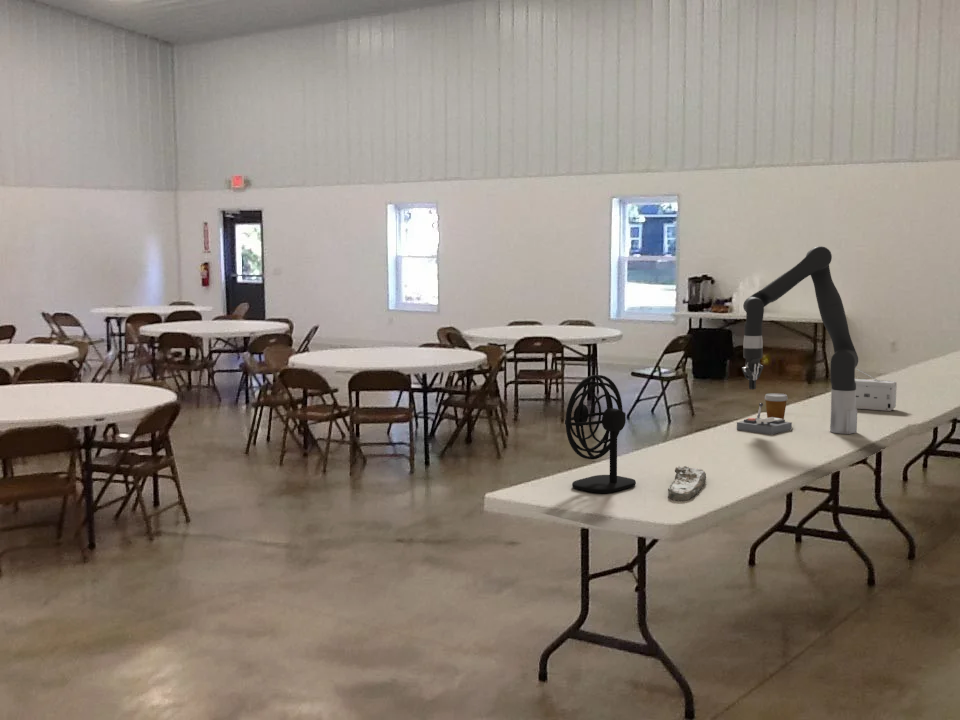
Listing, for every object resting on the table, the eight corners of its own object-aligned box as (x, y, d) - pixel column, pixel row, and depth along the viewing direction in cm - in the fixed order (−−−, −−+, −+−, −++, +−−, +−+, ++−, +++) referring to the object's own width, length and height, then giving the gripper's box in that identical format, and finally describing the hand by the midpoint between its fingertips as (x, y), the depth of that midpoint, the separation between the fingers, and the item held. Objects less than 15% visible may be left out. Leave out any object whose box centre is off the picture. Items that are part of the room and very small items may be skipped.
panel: (791, 429, 414) (791, 419, 414) (771, 434, 404) (771, 423, 404) (756, 424, 426) (757, 414, 426) (736, 429, 416) (736, 418, 415)
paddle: (782, 421, 415) (782, 418, 415) (777, 422, 412) (777, 419, 412) (773, 420, 418) (773, 417, 418) (768, 421, 415) (768, 418, 415)
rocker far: (774, 420, 409) (773, 416, 409) (769, 421, 406) (769, 418, 406) (761, 422, 413) (761, 418, 413) (756, 423, 411) (756, 419, 411)
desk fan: (607, 474, 337) (607, 369, 333) (650, 483, 324) (651, 374, 320) (552, 488, 318) (552, 377, 314) (596, 498, 306) (596, 382, 302)
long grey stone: (660, 504, 304) (694, 509, 300) (661, 487, 303) (695, 492, 300) (679, 473, 336) (710, 477, 333) (680, 458, 335) (711, 461, 332)
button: (756, 421, 416) (756, 418, 416) (752, 422, 414) (752, 419, 413) (750, 420, 418) (750, 417, 418) (746, 421, 416) (746, 418, 416)
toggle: (760, 419, 423) (764, 403, 423) (758, 418, 422) (762, 402, 422) (757, 418, 424) (760, 403, 425) (755, 418, 423) (758, 402, 424)
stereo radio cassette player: (896, 409, 462) (897, 365, 460) (892, 412, 455) (894, 367, 453) (848, 406, 473) (849, 363, 471) (844, 408, 466) (845, 365, 464)
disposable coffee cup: (789, 424, 426) (790, 396, 424) (767, 425, 426) (767, 396, 424) (783, 421, 435) (784, 393, 434) (761, 421, 435) (761, 393, 434)
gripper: (752, 348, 405) (751, 391, 407) (770, 346, 414) (769, 388, 416) (735, 347, 410) (735, 390, 412) (753, 344, 419) (753, 386, 421)
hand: (752, 389), depth 414 cm, fingers closed
